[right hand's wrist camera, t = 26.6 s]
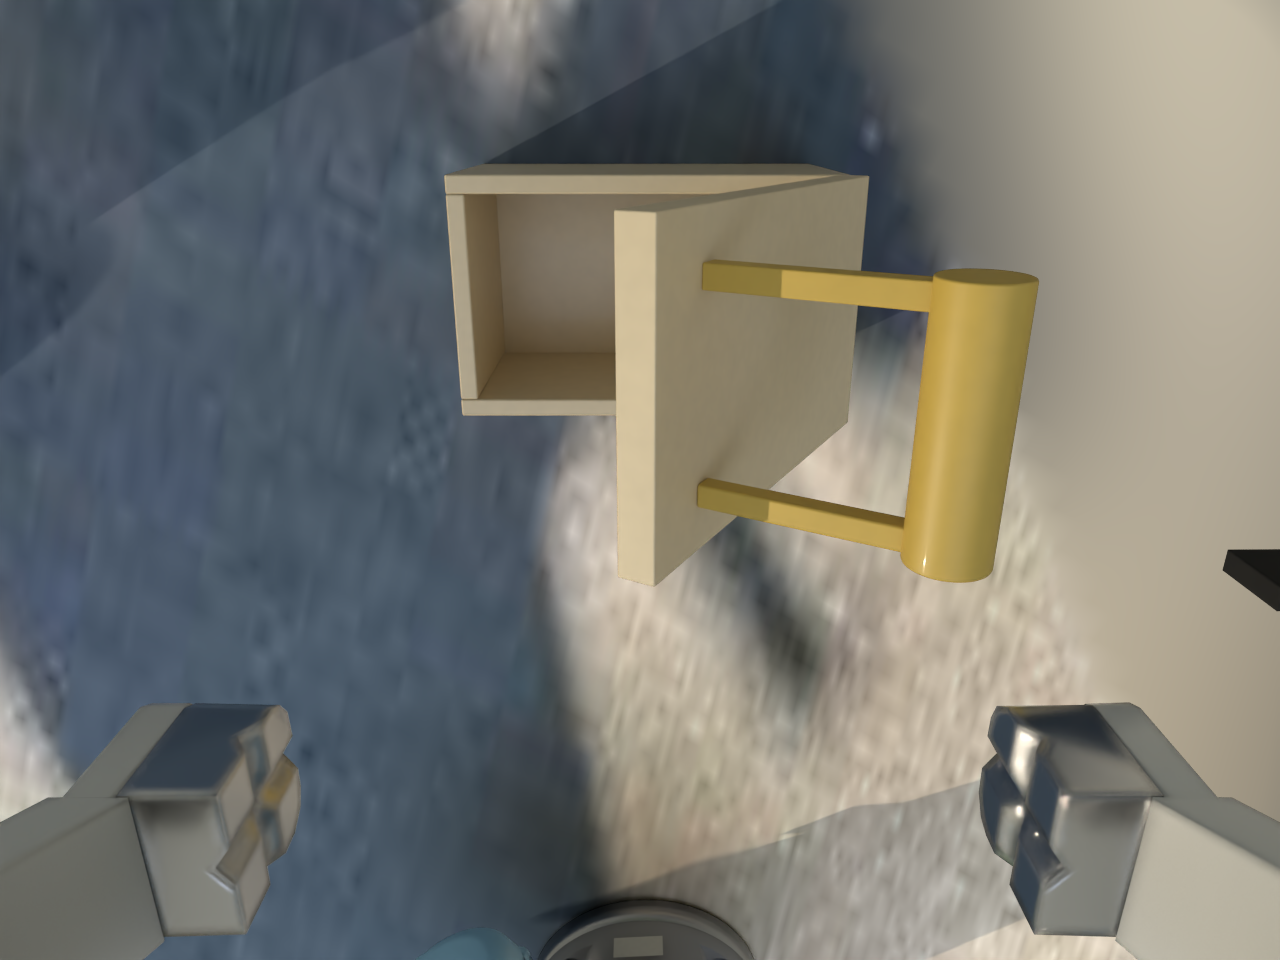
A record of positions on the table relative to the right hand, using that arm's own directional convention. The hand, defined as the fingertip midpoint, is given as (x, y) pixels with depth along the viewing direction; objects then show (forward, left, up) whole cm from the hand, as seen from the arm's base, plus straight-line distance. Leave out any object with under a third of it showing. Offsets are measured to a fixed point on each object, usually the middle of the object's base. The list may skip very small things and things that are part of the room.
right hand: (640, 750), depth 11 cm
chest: (0, 0, -36) cm, 36 cm away
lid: (+1, +3, -20) cm, 20 cm away
